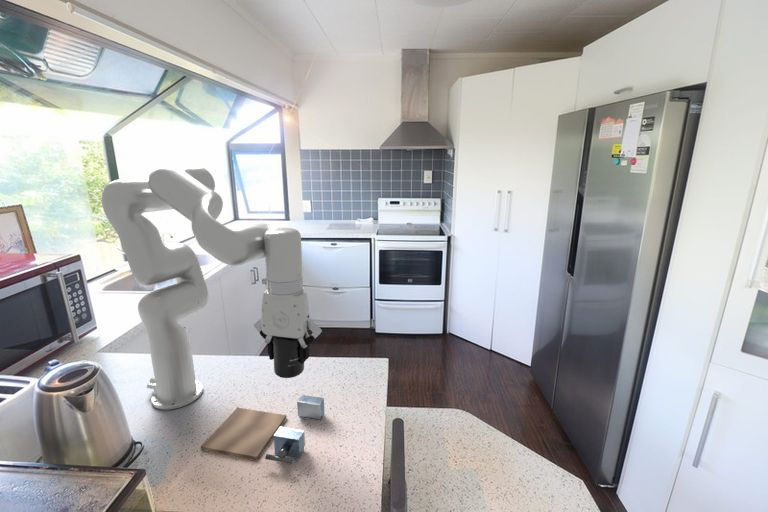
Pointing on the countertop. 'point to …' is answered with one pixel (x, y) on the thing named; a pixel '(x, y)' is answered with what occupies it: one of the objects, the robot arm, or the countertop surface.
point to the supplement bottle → (286, 357)
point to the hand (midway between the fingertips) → (288, 358)
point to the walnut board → (244, 433)
